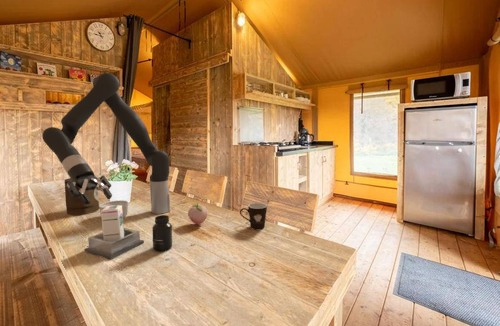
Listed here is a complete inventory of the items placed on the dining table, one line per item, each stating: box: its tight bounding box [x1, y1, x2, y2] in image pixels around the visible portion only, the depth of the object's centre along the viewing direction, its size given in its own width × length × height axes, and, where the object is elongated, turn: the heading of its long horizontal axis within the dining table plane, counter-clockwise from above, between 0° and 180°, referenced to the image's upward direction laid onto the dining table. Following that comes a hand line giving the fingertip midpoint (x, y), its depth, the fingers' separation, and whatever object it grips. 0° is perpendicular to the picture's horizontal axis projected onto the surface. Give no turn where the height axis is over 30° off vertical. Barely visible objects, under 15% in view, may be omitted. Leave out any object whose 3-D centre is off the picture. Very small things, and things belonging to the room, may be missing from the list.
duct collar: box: [84, 227, 145, 260], centre depth 92 cm, size 14×14×5 cm
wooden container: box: [64, 177, 100, 216], centre depth 134 cm, size 15×15×22 cm
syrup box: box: [100, 205, 125, 242], centre depth 91 cm, size 6×6×14 cm
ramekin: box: [99, 199, 130, 219], centre depth 126 cm, size 13×13×7 cm
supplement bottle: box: [151, 214, 173, 253], centre depth 91 cm, size 7×7×12 cm
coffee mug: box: [239, 202, 268, 230], centre depth 113 cm, size 12×9×10 cm
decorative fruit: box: [187, 203, 209, 225], centre depth 115 cm, size 9×8×10 cm
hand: (99, 200), depth 93 cm, fingers open, 8 cm apart
